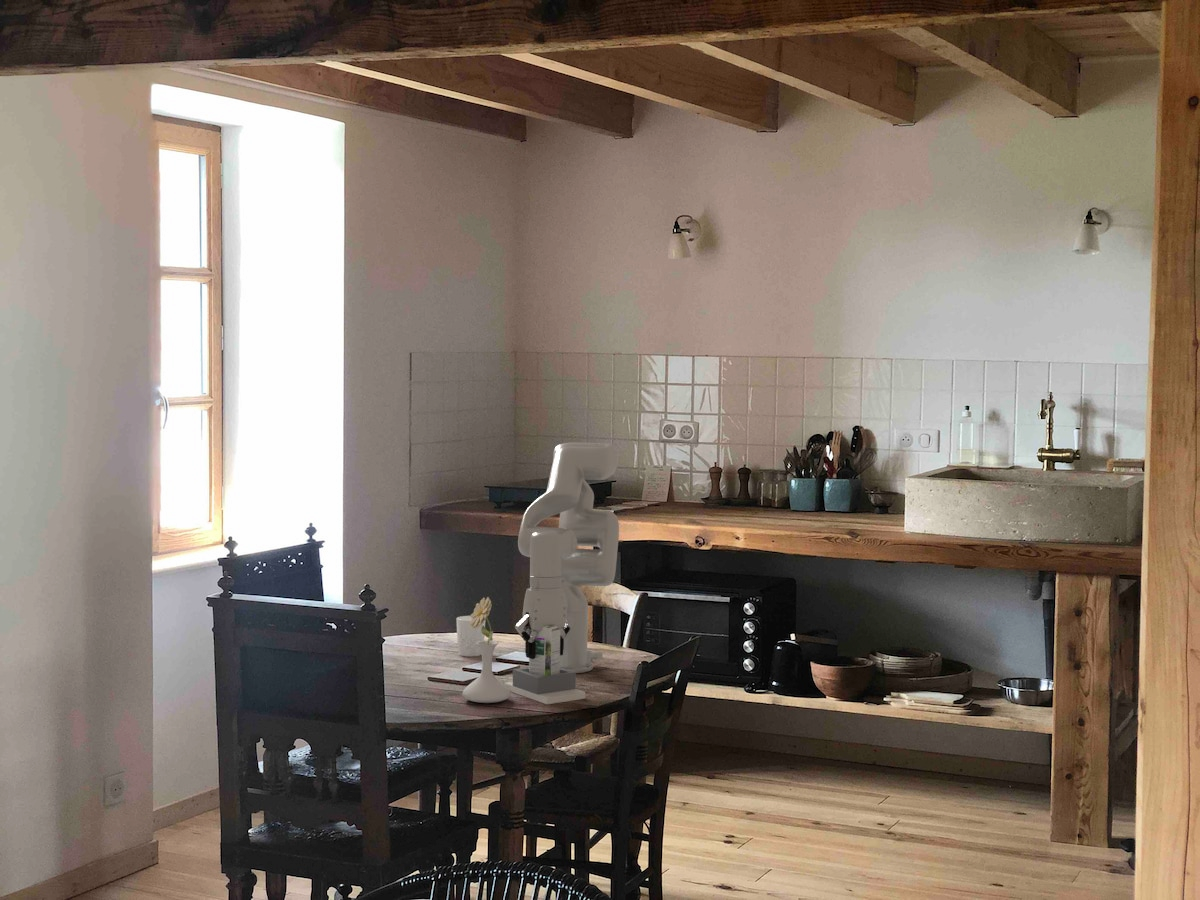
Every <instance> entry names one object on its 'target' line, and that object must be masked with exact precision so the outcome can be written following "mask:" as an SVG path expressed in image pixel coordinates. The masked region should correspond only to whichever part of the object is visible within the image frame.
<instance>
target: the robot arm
mask: <svg viewBox="0 0 1200 900" xmlns="http://www.w3.org/2000/svg"><path fill="white" fill-rule="evenodd" d="M552 457H553V459H552V463H551V464H552V465H551V469H550V471H549V478H548V483H547V488H546V491H545V492H544V493H543V494H542V495H540V496H538V498H536V499H535V500H534V501H533V502H532V503H531V504H530V505H529V506H528V507H527V509H526V510H525V511H524V513H523V516H522V520H521V523H520V526H519V527H520V528H519V532H518V539H517V547H518V551H519V552H520V554H521V555H523V556H524V557H527V558H529V587H528V588H526V591H525V594H524V599H523V606H522V608H523V609H522V618H521V619H520V620H519V621H518V622H517V623H516V625H514V628H515V630H516V631H517V633H518V634H519V636H520V637H521V638H522V640H523V641H524V643H525V647H524V648H525V649H524V652H525V657H526V658H527V659H529V658H530V659H535V648H536V644H535V642H533V641H534V639H535V636H536V634H537V632H539V631H542V629H543V627H546V626H552V625H557V628H558V629H560V668H563V669H566V670H569V671H572V672H576V674H583V673H587V672H590V671H592V670H593V669H594V664H593V663H591V662H592V661H594V660H602V658H603V652H602V651H595V652H592V651H591V650H588V627H589V626H588V624H589V623H588V621H589V619H588V618H589V617H588V616H589V603H588V599H587V597H586V595H585V594H584V592H583V591H582V589H581V588H580V587H581V586H584V587H585V586H589V587H607V586H611V584H612V583H614V580H615V577H616V570H617V560H618V551H619V550H618V548H619V540H620V539H619V537H620V524H619V519H618V517H617V515H616V513H614V512H612V511H610V510H599V509H598V510H596V509H594V501H595V494H594V491H593V489H592V487H591V486H590V484H589V483H588V482H587V481H586V480H590V481H595V480H596V481H602V480H603V481H604V480H606V479H609V478H610V477H611V476H613V475H614V474H615V472H616V470H617V468H618V465H619V452H618V449H617V448H616V446H615V445H614V444H612V443H606V442H580V441H579V442H577V441H576V442H575V441H574V442H573V441H572V442H564V443H560V444H557V445H556V446H555V448H554V449H553V453H552ZM556 515H559V522H558V527H556V526H555V527H553V526H537V525H539V524H540V523H541V522H543V520H545V519H548V518H550V517H553V516H556ZM578 546H579V547H597V548H599V549H596V548H594V549H591V548H577V547H578ZM530 626H531V628H530Z"/></svg>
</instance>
